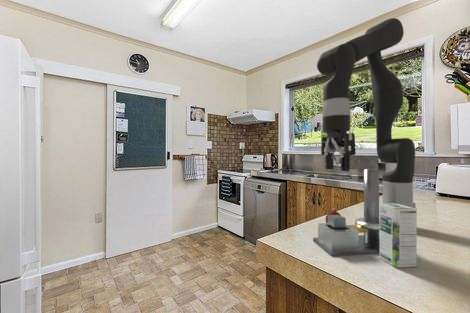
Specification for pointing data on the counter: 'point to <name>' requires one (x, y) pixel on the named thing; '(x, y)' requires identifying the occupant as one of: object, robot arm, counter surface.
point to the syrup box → (398, 235)
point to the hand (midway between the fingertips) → (336, 170)
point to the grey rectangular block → (336, 222)
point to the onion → (332, 214)
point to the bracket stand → (356, 225)
